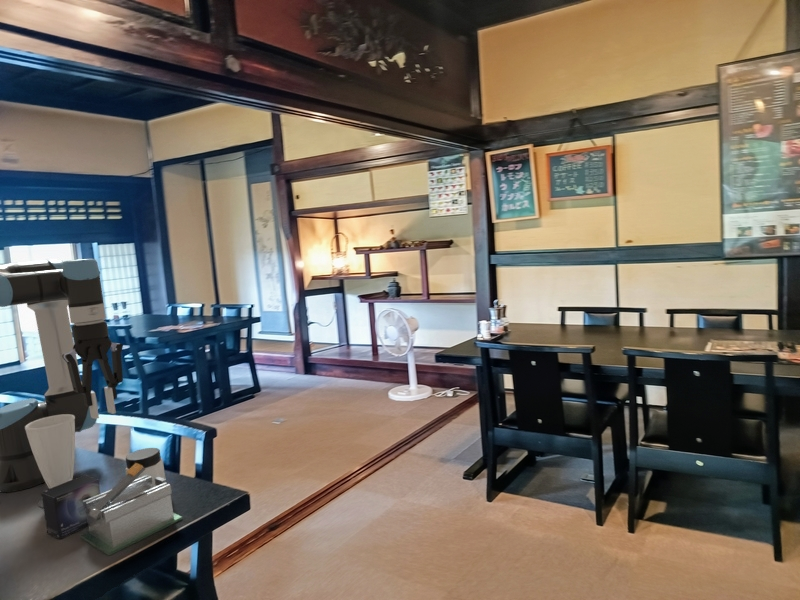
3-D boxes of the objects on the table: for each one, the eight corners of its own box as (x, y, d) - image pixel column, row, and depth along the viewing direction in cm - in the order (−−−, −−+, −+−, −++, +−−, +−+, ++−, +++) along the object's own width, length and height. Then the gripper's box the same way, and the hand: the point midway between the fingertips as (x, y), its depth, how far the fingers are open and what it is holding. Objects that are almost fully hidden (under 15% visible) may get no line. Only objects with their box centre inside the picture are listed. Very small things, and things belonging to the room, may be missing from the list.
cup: (93, 494, 146) (81, 418, 144) (44, 512, 138) (30, 431, 136) (79, 484, 154) (67, 411, 152) (32, 500, 146) (19, 423, 143)
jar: (132, 508, 136) (125, 463, 135) (128, 497, 143) (121, 454, 141) (170, 497, 141) (164, 453, 139) (164, 486, 148) (158, 444, 146)
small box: (60, 540, 123) (53, 497, 122) (46, 534, 127) (39, 492, 126) (105, 518, 132) (99, 477, 131) (91, 513, 136) (85, 473, 135)
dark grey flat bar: (97, 521, 118) (91, 516, 117) (88, 516, 121) (83, 511, 120) (148, 471, 127) (143, 465, 126) (139, 467, 129) (134, 462, 129)
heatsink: (81, 537, 124) (75, 501, 123) (152, 505, 137) (147, 472, 136) (109, 555, 115) (102, 517, 114) (182, 519, 128) (177, 484, 127)
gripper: (58, 329, 123) (74, 428, 126) (130, 317, 136) (143, 407, 138) (45, 328, 127) (61, 423, 130) (116, 316, 140) (129, 403, 143)
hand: (103, 415), depth 134 cm, fingers open, 3 cm apart
